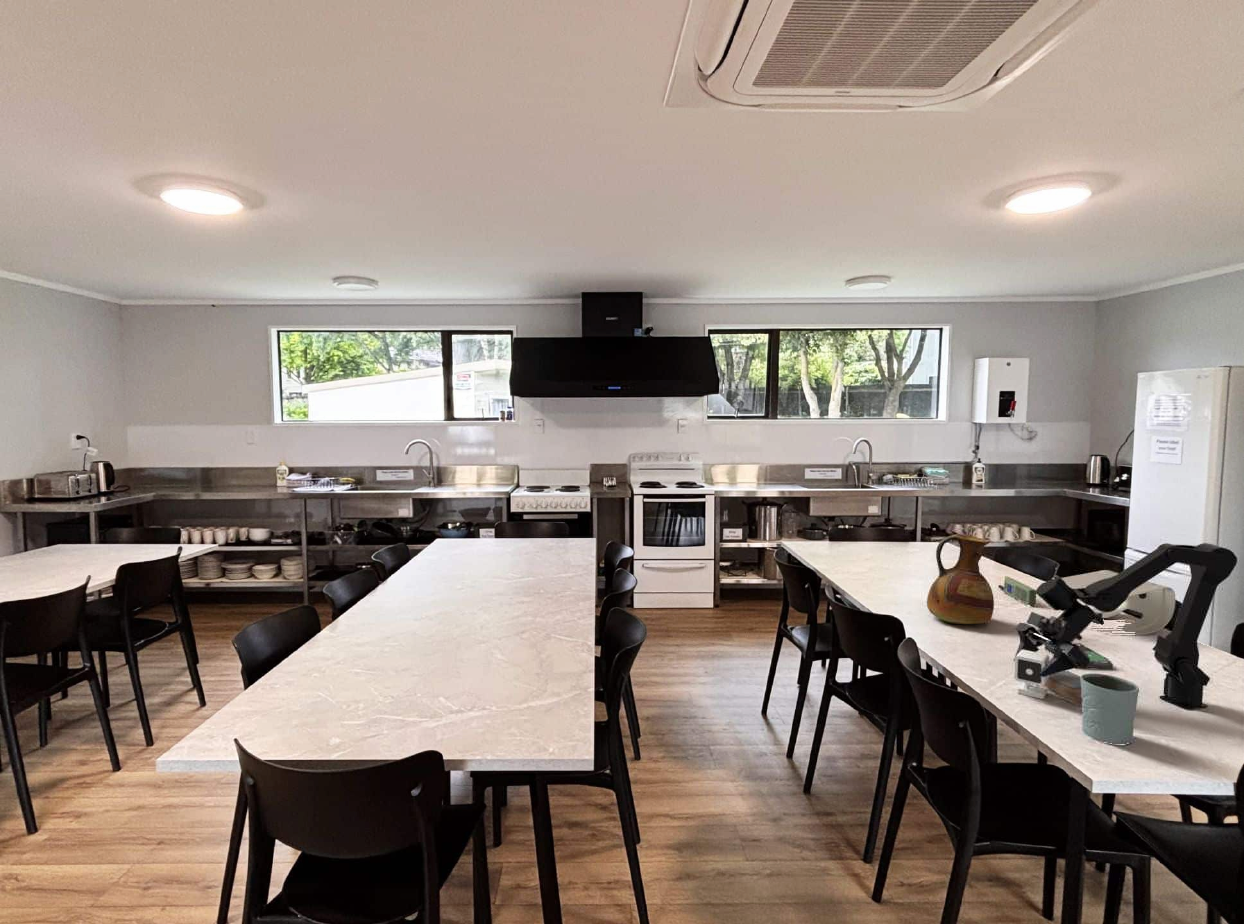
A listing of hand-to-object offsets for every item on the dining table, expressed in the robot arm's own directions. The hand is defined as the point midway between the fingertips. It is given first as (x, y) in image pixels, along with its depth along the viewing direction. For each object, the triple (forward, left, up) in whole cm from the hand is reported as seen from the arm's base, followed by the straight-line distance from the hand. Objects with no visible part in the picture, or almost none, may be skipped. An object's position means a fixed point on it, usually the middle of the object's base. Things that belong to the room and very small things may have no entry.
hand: (1027, 668), depth 157 cm
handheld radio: (+77, -66, -7) cm, 102 cm away
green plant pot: (-21, -1, -7) cm, 22 cm away
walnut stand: (-1, -12, -7) cm, 13 cm away
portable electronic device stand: (+44, -73, -7) cm, 85 cm away
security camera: (0, -1, -7) cm, 7 cm away
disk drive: (+18, -34, -7) cm, 39 cm away
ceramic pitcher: (+55, -24, -7) cm, 61 cm away
